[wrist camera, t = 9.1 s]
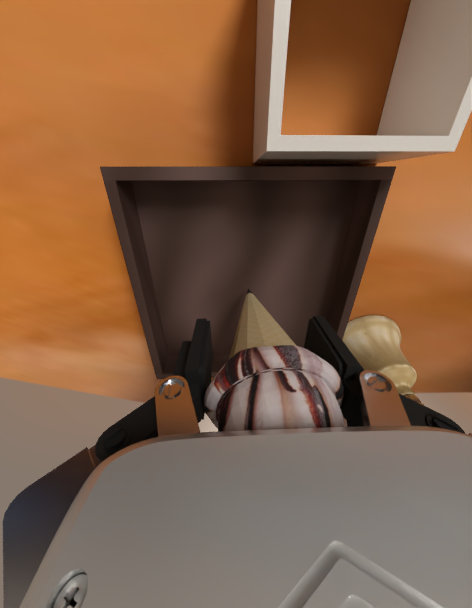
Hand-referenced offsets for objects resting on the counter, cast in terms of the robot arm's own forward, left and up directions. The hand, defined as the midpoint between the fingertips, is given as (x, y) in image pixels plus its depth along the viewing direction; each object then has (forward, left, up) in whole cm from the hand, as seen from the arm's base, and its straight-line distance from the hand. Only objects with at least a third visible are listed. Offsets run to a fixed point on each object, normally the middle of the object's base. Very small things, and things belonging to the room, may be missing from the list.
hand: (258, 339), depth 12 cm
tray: (0, 0, -8) cm, 8 cm away
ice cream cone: (0, 0, -7) cm, 7 cm away
